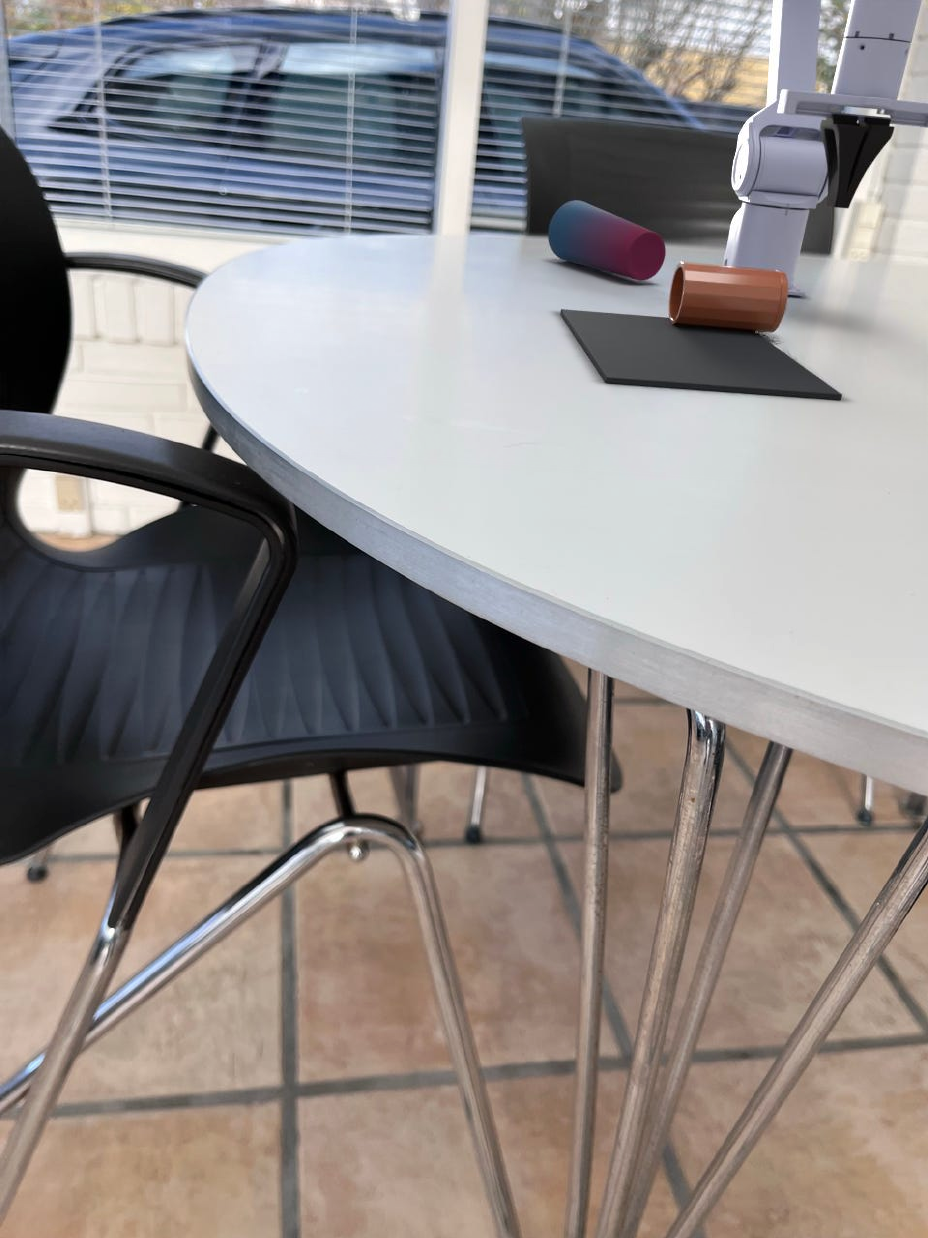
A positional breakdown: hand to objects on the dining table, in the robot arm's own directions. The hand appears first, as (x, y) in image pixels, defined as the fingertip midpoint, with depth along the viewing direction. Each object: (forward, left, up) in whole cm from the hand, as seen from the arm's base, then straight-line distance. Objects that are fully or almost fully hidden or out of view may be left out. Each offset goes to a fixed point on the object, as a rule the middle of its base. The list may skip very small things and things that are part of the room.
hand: (837, 206), depth 96 cm
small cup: (+10, -8, -7) cm, 15 cm away
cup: (-13, -14, -7) cm, 20 cm away
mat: (+19, -18, -10) cm, 28 cm away
